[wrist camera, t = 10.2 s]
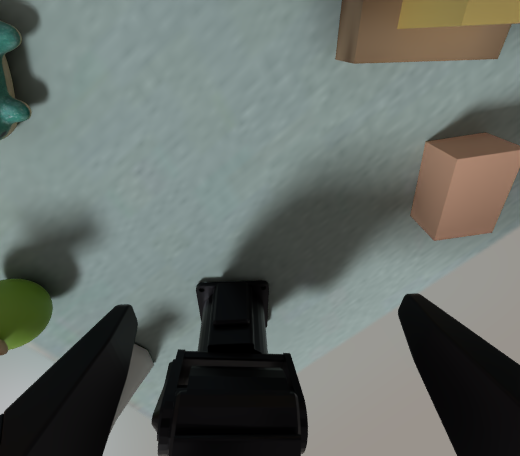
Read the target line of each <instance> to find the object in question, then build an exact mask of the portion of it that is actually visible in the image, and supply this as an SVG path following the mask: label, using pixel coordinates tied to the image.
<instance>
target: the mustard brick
mask: <svg viewBox="0 0 520 456" xmlns="http://www.w3.org/2000/svg"><path fill="white" fill-rule="evenodd" d="M519 23H520V0H403V2H402V7H401V12H400V17H399V22H398V27H397V29H409V28H433V27H456V26H479V25H500V24H519Z"/></svg>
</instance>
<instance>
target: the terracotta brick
mask: <svg viewBox="0 0 520 456" xmlns="http://www.w3.org/2000/svg"><path fill="white" fill-rule="evenodd" d="M519 168H520V146H519V145H517V144H514V143H512V142H509V141H506V140H504V139H501V138H499V137H496V136H494V135H491V134H488V133H486V132H485V133H478V134H472V135H465V136H459V137H452V138H446V139H439V140H433V141H426V143H425V148H424V152H423V157H422V162H421V167H420V172H419V176H418V181H417V186H416V191H415V195H414V200H413V205H412V210H411V215H410V216H411V217H412V218H413V219H414V220H415V221H416V222H417V223H418V224H419V225H420V226H421V227H422V228H423V230H424V231H425V232H426V233H427V234H428V235H429V236H430V237H431V238H432V239H433V240H434V241H436V240H443V239H450V238H457V237H465V236H472V235H479V234H486V233H492V231H493V229H494V227H495V224H496V222H497V220H498V217H499V215H500V213H501V210H502V208H503V206H504V203H505V201H506V199H507V196H508V194H509V192H510V189H511V187H512V185H513V182H514V180H515V178H516V175H517V173H518V171H519Z"/></svg>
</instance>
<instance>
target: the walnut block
mask: <svg viewBox="0 0 520 456" xmlns="http://www.w3.org/2000/svg"><path fill="white" fill-rule="evenodd" d="M402 2H403V0H342V5H341V14H340V23H339V32H338V41H337V50H336V58H335V59H336V60H340V61H345V62H349V63H354V64H356V63H387V62H418V61H449V60H480V59H498V57H499V55H500V52H501V50H502V47H503V44H504V42H505V39H506V37H507V34H508V32H509V29H510V27H511V24H500V25H479V26H456V27H433V28H409V29H397V27H398V22H399V17H400V12H401V7H402Z"/></svg>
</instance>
